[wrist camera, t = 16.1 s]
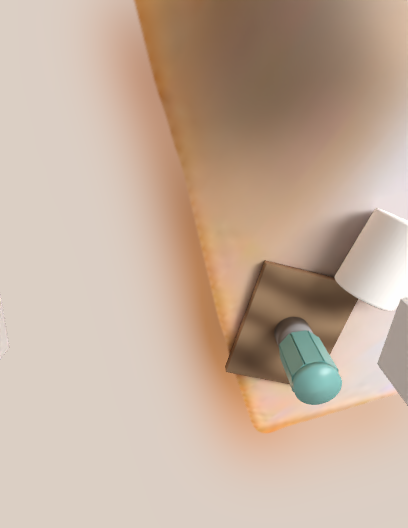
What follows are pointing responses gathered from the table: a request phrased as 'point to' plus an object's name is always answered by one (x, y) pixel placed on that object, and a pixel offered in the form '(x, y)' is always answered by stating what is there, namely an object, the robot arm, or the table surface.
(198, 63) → the table surface
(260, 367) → the stud board
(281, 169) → the table surface
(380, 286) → the mug
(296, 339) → the cap
